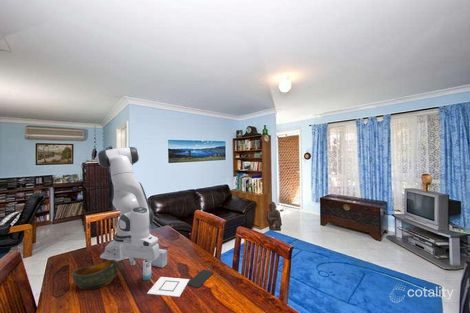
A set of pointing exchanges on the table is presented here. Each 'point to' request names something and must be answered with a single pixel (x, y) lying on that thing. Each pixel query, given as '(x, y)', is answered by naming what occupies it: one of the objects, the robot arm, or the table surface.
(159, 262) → the medicine box
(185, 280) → the paper
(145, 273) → the marker
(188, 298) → the table surface
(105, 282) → the green oval bowl
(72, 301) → the table surface
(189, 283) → the phone
